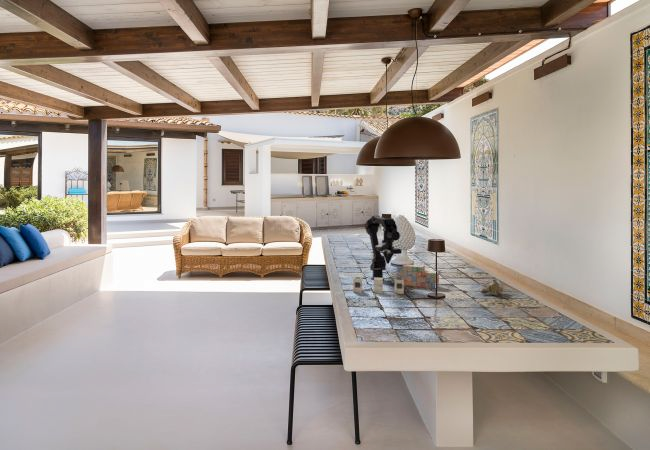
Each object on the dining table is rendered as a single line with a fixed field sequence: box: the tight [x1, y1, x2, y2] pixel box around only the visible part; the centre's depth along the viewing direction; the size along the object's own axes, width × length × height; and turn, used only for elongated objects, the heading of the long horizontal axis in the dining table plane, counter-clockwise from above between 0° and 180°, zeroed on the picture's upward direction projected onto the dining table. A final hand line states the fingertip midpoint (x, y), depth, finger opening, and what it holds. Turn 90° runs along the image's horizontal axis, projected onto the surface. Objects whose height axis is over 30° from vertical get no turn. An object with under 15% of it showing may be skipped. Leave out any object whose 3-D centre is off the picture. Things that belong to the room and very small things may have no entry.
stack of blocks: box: [402, 263, 440, 289], centre depth 298 cm, size 21×6×12 cm, turn 61°
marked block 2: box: [394, 277, 405, 295], centre depth 280 cm, size 5×5×8 cm
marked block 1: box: [352, 276, 363, 294], centre depth 282 cm, size 5×5×8 cm
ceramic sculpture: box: [480, 279, 504, 297], centre depth 276 cm, size 11×9×15 cm
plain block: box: [373, 277, 384, 294], centre depth 281 cm, size 5×5×8 cm
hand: (387, 263), depth 302 cm, fingers closed
